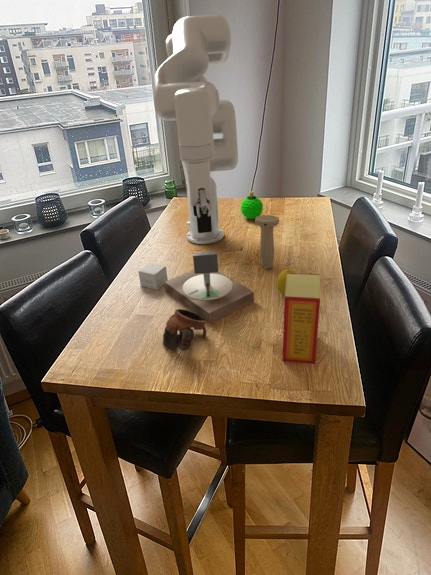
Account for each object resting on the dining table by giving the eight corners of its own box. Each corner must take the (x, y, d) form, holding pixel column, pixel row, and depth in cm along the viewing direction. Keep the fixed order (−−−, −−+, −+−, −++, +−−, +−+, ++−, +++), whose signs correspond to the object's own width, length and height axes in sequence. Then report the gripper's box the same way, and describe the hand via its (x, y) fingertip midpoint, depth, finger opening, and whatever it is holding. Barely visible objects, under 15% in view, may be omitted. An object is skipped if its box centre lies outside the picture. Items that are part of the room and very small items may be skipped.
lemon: (285, 304, 105) (286, 276, 101) (272, 294, 109) (272, 267, 105) (303, 298, 107) (304, 270, 103) (289, 288, 112) (290, 261, 107)
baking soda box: (285, 333, 95) (287, 271, 87) (314, 335, 94) (319, 272, 86) (282, 361, 87) (284, 295, 79) (314, 363, 86) (320, 297, 78)
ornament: (257, 224, 150) (256, 196, 145) (237, 220, 154) (236, 194, 149) (266, 216, 156) (266, 189, 151) (246, 213, 160) (246, 187, 154)
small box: (168, 280, 119) (166, 265, 117) (157, 290, 115) (154, 274, 112) (151, 277, 122) (149, 261, 119) (140, 286, 117) (137, 271, 115)
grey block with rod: (196, 298, 104) (192, 265, 99) (195, 284, 109) (192, 253, 105) (220, 296, 104) (218, 264, 99) (218, 282, 110) (216, 251, 105)
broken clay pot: (157, 336, 98) (168, 303, 97) (195, 345, 101) (206, 314, 100) (163, 357, 87) (176, 320, 85) (205, 367, 90) (218, 332, 88)
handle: (276, 272, 119) (277, 222, 112) (254, 270, 121) (253, 221, 114) (279, 264, 123) (280, 216, 116) (257, 262, 125) (257, 214, 117)
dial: (173, 286, 110) (172, 284, 110) (212, 269, 117) (212, 268, 117) (202, 306, 101) (202, 304, 101) (243, 287, 108) (243, 285, 108)
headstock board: (165, 291, 114) (164, 281, 113) (207, 273, 121) (206, 264, 120) (210, 323, 100) (209, 313, 99) (254, 301, 107) (253, 291, 106)
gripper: (177, 142, 98) (184, 211, 108) (182, 164, 84) (190, 241, 93) (208, 139, 99) (213, 207, 108) (219, 160, 85) (223, 237, 94)
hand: (202, 223), depth 101 cm, fingers open, 9 cm apart
